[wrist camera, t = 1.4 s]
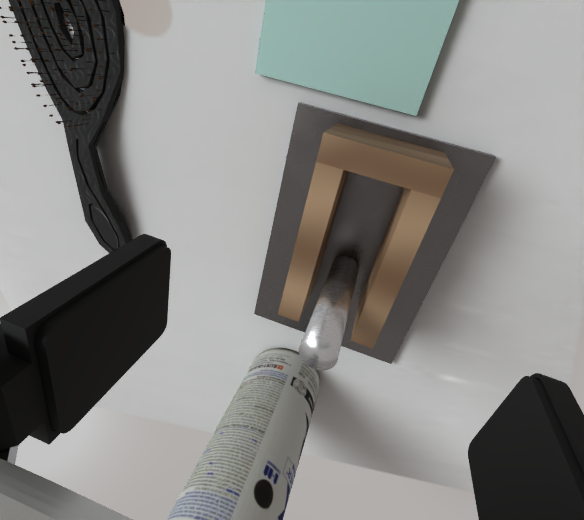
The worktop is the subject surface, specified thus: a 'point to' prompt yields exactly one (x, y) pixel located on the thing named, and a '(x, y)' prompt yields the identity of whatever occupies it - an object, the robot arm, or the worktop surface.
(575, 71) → the worktop surface
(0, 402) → the robot arm
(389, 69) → the mat
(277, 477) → the spray can
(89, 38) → the hairbrush
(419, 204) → the arch block
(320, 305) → the stand
